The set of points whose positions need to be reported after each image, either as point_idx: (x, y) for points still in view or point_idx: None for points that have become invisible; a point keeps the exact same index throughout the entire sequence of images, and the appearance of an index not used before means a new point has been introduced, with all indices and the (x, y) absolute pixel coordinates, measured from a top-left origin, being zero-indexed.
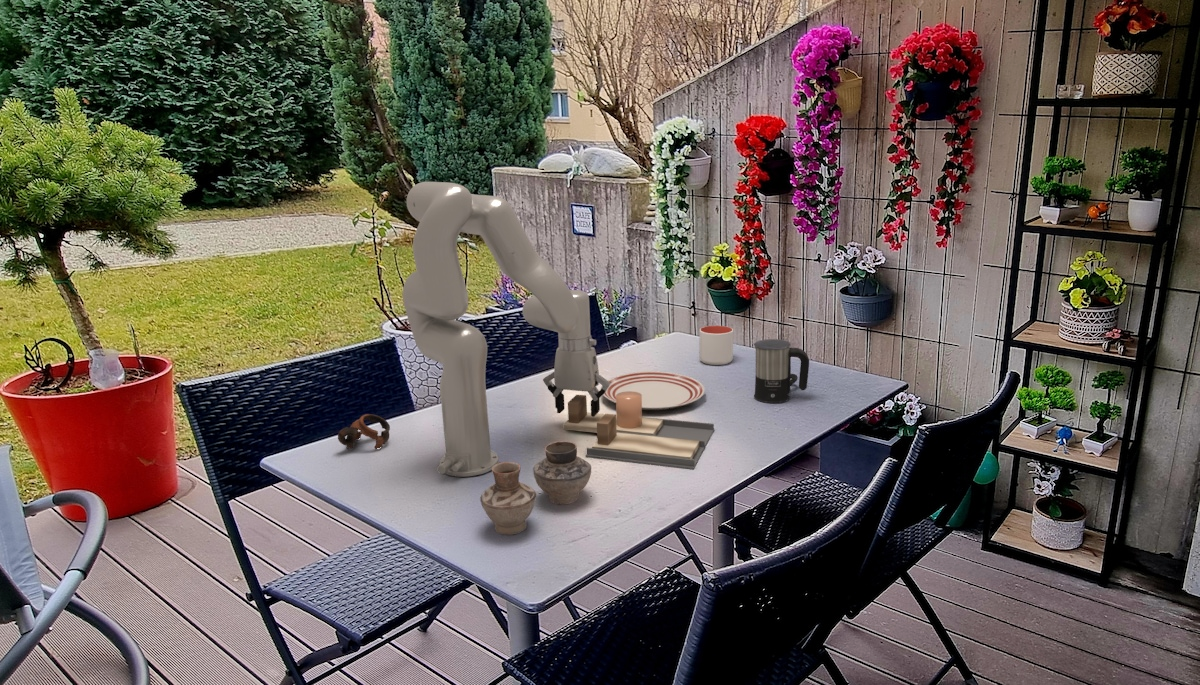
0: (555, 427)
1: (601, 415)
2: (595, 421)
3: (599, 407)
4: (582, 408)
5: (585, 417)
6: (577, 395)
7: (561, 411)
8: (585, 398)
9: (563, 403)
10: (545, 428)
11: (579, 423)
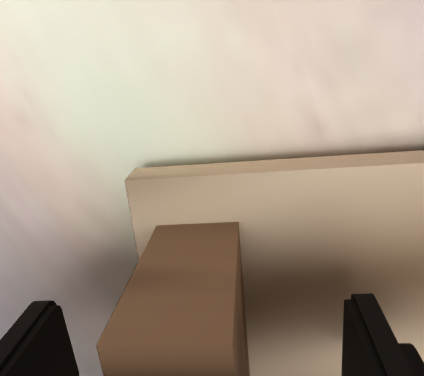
0: (92, 316)
1: (364, 203)
2: None
3: (421, 364)
4: (244, 370)
5: (251, 276)
6: (124, 370)
7: (72, 356)
8: (236, 351)
9: (35, 357)
10: None
11: (256, 373)
